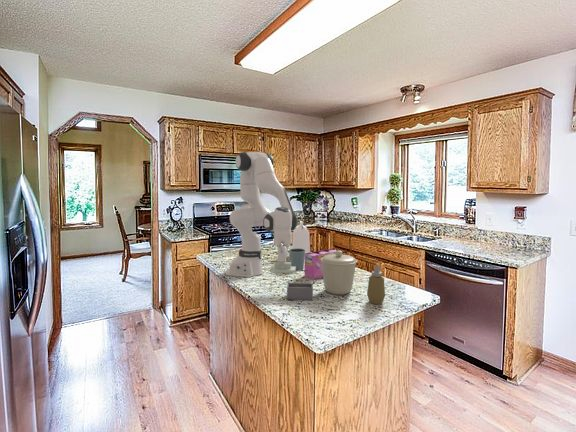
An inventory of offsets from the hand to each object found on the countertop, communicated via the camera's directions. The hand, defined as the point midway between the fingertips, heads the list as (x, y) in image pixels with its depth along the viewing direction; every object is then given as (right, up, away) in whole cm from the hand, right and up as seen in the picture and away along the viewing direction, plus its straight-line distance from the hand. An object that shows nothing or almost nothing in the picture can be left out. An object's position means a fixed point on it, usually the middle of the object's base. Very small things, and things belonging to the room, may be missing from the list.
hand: (282, 267), depth 168 cm
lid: (0, -2, 0) cm, 2 cm away
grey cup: (+8, -8, +44) cm, 45 cm away
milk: (+12, -4, +74) cm, 75 cm away
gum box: (+23, -9, +32) cm, 40 cm away
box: (+8, -13, -8) cm, 18 cm away
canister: (+28, -13, +1) cm, 31 cm away
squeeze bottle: (+43, -14, -14) cm, 47 cm away
